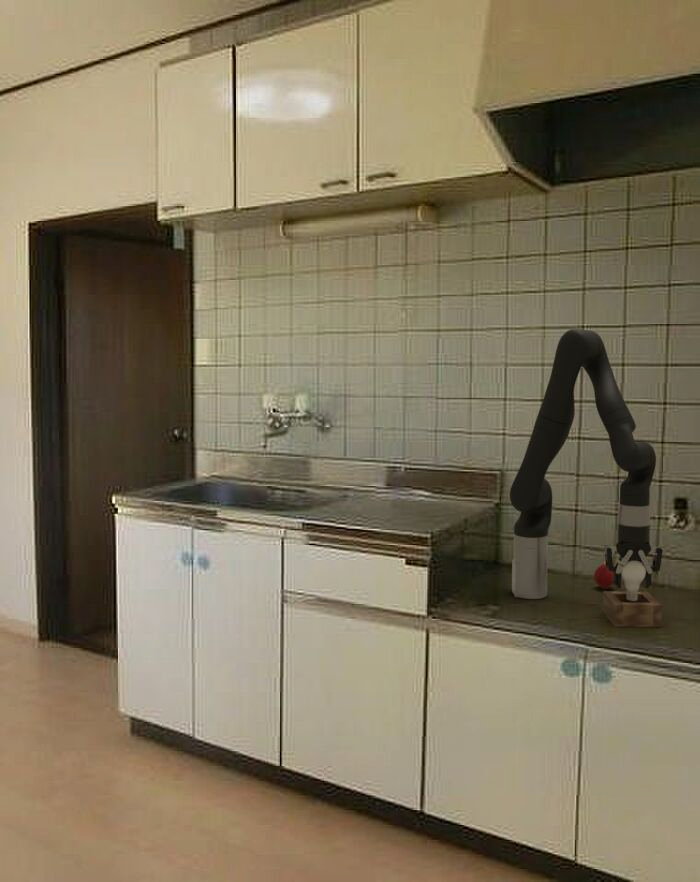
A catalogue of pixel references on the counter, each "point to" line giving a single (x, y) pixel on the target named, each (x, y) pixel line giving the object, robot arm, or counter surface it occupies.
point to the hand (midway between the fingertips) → (632, 587)
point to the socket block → (632, 610)
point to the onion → (603, 576)
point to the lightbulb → (633, 578)
